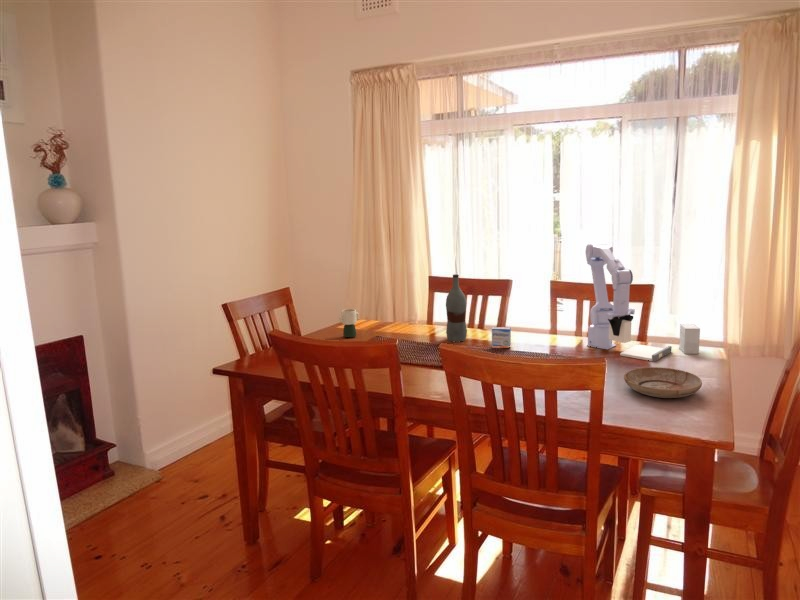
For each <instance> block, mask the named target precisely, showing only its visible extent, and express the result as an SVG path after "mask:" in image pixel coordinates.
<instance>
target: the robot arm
mask: <svg viewBox="0 0 800 600" xmlns="http://www.w3.org/2000/svg"><path fill="white" fill-rule="evenodd" d="M585 247H586V248H585V259H586V263H587V265H588V266H590V269H591V275H592V276H591V277H592V282H593V283H592V284H593V290H594V297H595V304H593V306H592V307H591V309H590V314H589V315H590V317H589V318H590V323H591V324H590V325H589V327H588V328H587V329H588V331H587V345H586V346H587V347H590V346H591V348H596V347H597V348H596V349H602V350H610V349H612V348H614V347H616V346H617V344H616V343H615V344H614V343H613V340H609V326H610V324H611V327H612V331H613V335H615V336H619V333H620V326H621V323H622V321H623V320H627V321H631V322H632V321H633V319H634V315H635V309H634V308H630V288H631V287H630V285H632V283H633V280H634V275H633V274H634V273H633V272H632V269H631V268H625V266H624V264H623V263H622V262H621V261H620V260H619V259H618V258H616V257H615V256H614V253H613V252H614V247H613V244H612V243H611V242H602V243H601V242H598V243H596V242H595V243H590V242H588V244H587V245H586V246H585ZM605 266H606V269H607V271H608V273H609V274H610V276H611V283H612V289H613V300H612V301H613V303H611V302H610V301H609V298H608V289H607V283H606V275H605V270H604V269H605V268H604V267H605Z"/></svg>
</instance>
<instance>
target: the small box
mask: <svg viewBox="0 0 800 600" xmlns="http://www.w3.org/2000/svg"><path fill="white" fill-rule="evenodd" d="M679 327H680V328H679V341H678V342H679V346H678V347H679V348H678V349H679V350H680V351H681V352H682V353H683V354H684V355H687V354H688V355H692V354H693V355H694V354H695V355H699V354H700V337H701V336H700V335H701V328H700V327H698V325H696V324H693V323H691V324H689V323H685V324H684V323H683V324H682V323H681V324H680V325H679Z"/></svg>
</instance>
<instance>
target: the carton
mask: <svg viewBox="0 0 800 600" xmlns="http://www.w3.org/2000/svg"><path fill="white" fill-rule="evenodd" d="M631 338H632V321H627V320H623V321H622V323H621V326H620V333H619V336H615V335H613V331H612V327H611V324H610V326H609V340H612V342H613V341H615V342H617V343H618V342H619V343H622V344H623V343H624V344H625V343H629V342H631V340H632V339H631Z"/></svg>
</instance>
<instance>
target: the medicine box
mask: <svg viewBox="0 0 800 600" xmlns="http://www.w3.org/2000/svg"><path fill="white" fill-rule="evenodd" d="M511 331H512V329H511V327H510V326H509V327H507V326H500V327H499V326H492V328H491V346H492V345H493V346H510V345H511V343H512V342H511V341H512V339H511V337H512V334H511ZM511 346H512V345H511Z"/></svg>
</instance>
